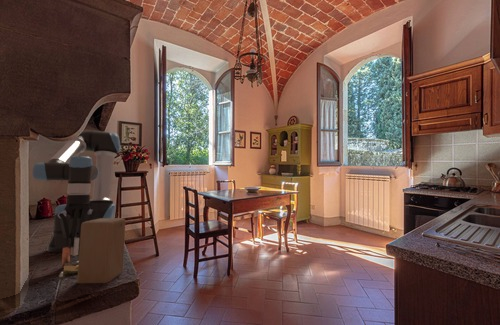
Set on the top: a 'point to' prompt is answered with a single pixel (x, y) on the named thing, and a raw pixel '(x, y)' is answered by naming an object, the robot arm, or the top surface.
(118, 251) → the wooden block
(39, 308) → the top surface
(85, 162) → the robot arm
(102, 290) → the top surface
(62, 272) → the level base
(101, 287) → the top surface
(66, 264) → the crank handle
